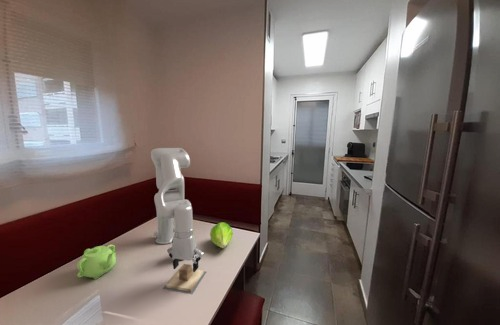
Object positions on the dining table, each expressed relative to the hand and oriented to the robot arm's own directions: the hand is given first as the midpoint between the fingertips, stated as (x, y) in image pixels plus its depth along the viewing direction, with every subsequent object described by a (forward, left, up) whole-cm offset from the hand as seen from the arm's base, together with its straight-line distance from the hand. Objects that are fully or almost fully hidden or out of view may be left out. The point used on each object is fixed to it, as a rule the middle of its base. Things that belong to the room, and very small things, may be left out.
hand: (185, 268), depth 89 cm
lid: (0, 0, -6) cm, 6 cm away
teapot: (-43, -4, -7) cm, 44 cm away
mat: (0, 0, -6) cm, 6 cm away
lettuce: (+6, +31, -7) cm, 33 cm away
